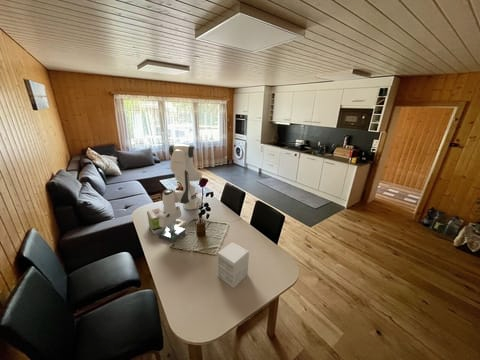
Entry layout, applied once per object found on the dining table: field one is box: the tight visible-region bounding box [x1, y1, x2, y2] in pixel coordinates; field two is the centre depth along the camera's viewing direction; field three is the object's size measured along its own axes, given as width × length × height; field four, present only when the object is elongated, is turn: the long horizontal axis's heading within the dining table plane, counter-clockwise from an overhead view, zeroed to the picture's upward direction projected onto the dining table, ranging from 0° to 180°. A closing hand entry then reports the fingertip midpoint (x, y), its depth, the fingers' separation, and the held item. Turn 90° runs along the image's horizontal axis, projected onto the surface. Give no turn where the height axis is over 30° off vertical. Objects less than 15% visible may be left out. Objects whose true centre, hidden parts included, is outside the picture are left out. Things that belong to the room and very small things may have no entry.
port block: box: [158, 226, 186, 244], centre depth 151 cm, size 14×14×5 cm
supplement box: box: [217, 241, 250, 289], centre depth 113 cm, size 13×13×18 cm
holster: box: [174, 218, 187, 228], centre depth 165 cm, size 10×10×3 cm
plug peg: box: [169, 220, 175, 234], centre depth 149 cm, size 4×4×12 cm
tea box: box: [146, 207, 167, 235], centre depth 158 cm, size 15×10×15 cm
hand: (171, 226), depth 149 cm, fingers closed on plug peg, 4 cm apart
